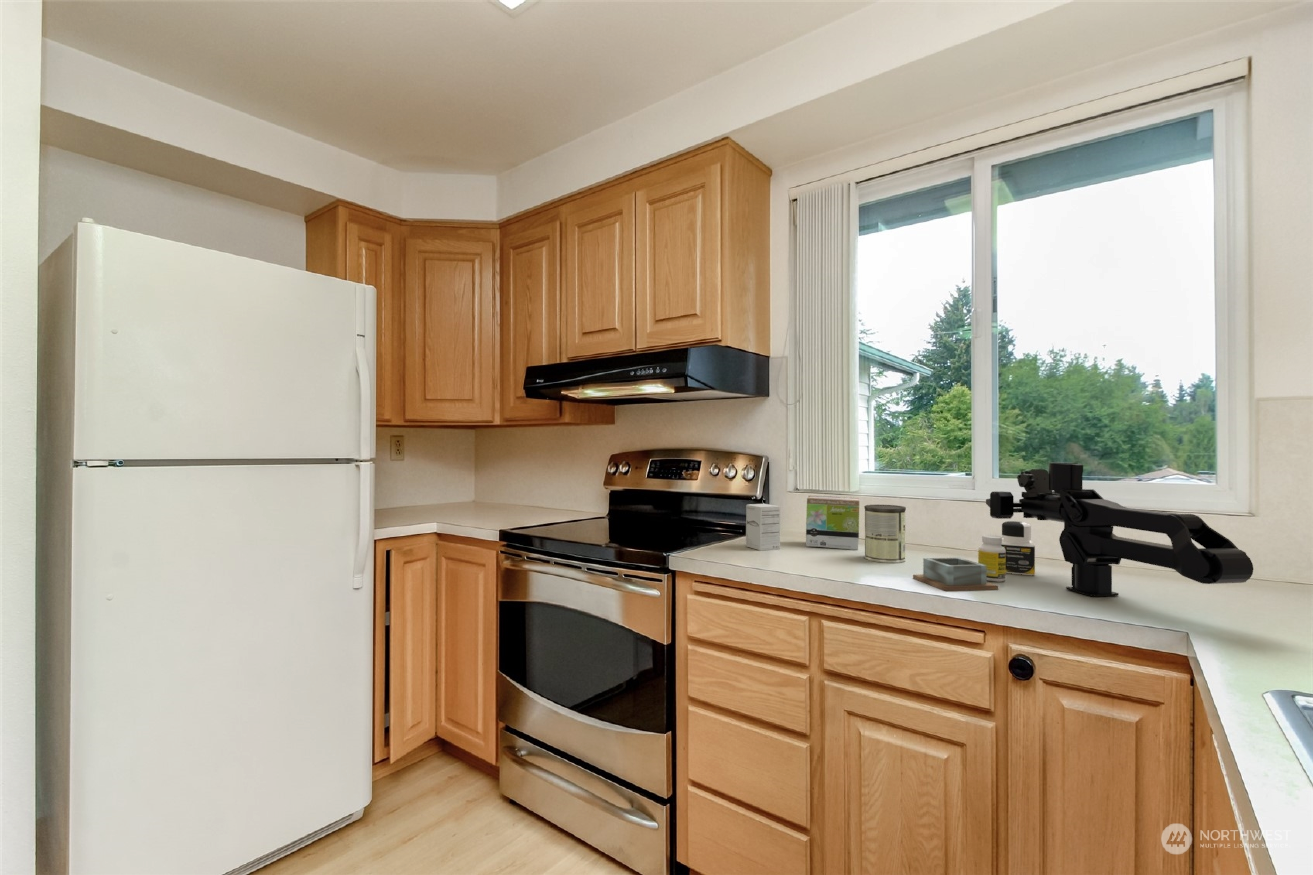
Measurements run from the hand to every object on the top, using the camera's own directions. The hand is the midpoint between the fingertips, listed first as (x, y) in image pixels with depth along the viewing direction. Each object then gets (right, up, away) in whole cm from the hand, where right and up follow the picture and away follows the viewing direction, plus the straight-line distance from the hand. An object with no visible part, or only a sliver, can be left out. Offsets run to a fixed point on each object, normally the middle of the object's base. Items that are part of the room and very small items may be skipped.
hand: (1003, 501), depth 148 cm
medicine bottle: (0, -17, -4) cm, 17 cm away
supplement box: (-56, -17, +26) cm, 63 cm away
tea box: (-34, -17, +30) cm, 48 cm away
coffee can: (-26, -17, +10) cm, 32 cm away
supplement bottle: (-10, -17, -13) cm, 24 cm away
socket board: (-21, -16, -18) cm, 32 cm away
